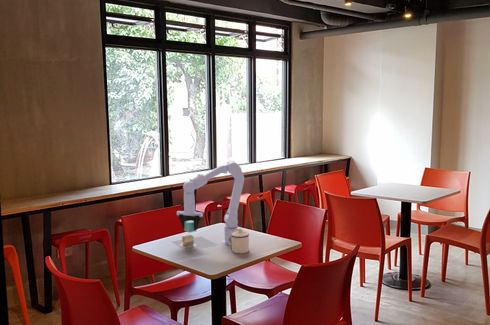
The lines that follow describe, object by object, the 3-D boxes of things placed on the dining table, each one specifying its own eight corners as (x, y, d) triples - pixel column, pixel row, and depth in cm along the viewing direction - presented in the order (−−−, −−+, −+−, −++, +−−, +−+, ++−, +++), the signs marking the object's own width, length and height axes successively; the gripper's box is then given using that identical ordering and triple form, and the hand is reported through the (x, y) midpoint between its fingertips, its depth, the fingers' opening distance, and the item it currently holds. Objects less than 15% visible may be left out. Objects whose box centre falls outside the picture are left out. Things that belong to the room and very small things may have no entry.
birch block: (193, 245, 244) (193, 236, 243) (185, 246, 241) (185, 237, 241) (190, 243, 247) (189, 234, 247) (182, 244, 245) (182, 235, 245)
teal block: (196, 231, 244) (195, 221, 244) (189, 232, 241) (188, 223, 241) (191, 229, 248) (191, 220, 247) (184, 230, 245) (184, 221, 244)
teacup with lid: (253, 250, 235) (252, 228, 233) (241, 255, 228) (241, 232, 226) (235, 246, 242) (234, 224, 241) (223, 250, 235) (222, 228, 234)
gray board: (217, 246, 244) (217, 244, 243) (186, 252, 234) (186, 250, 234) (201, 237, 261) (201, 236, 260) (171, 242, 251) (171, 241, 251)
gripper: (205, 203, 244) (205, 228, 246) (180, 201, 249) (181, 226, 251) (199, 206, 237) (200, 231, 239) (174, 204, 242) (175, 229, 244)
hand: (190, 229), depth 244 cm, fingers closed on teal block, 6 cm apart
